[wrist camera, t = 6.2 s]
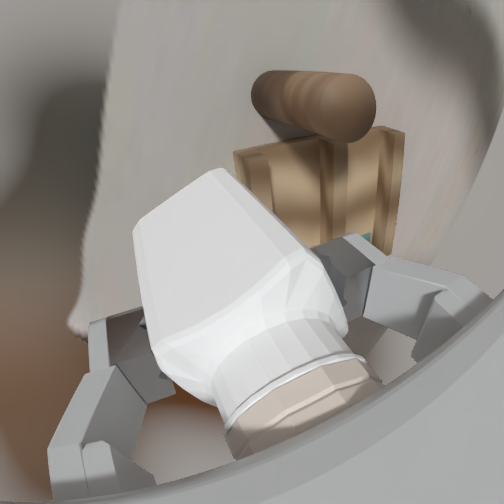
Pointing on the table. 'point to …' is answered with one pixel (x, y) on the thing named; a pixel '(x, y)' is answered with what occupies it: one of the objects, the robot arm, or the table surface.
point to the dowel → (317, 102)
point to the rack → (329, 185)
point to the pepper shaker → (245, 314)
